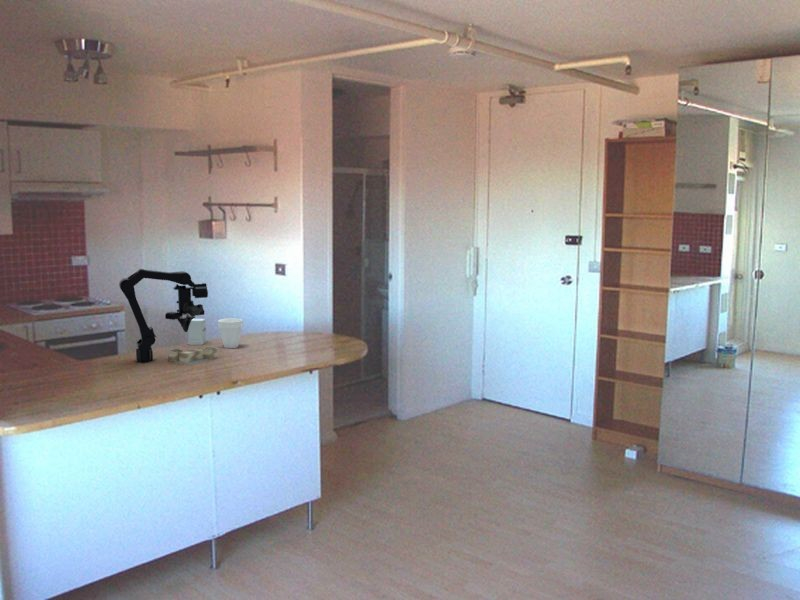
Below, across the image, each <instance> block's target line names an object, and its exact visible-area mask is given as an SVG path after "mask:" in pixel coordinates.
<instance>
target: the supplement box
mask: <svg viewBox="0 0 800 600" xmlns="http://www.w3.org/2000/svg"><path fill="white" fill-rule="evenodd" d="M187 333H188V345H189V346H203V345H204V344H206V343H207V320H206V318H193V319H192V320H191V322H190V325H189V328H188V331H187Z"/></svg>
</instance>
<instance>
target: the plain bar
mask: <svg viewBox="0 0 800 600" xmlns="http://www.w3.org/2000/svg"><path fill="white" fill-rule="evenodd" d="M203 349H204V348H201V347H200V348H199V347H198V348H194V349H190V350H185V351H184V350H183V352H180V353H179V361H181V362H190V361H194V360H199V359H203Z"/></svg>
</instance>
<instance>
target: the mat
mask: <svg viewBox="0 0 800 600" xmlns="http://www.w3.org/2000/svg"><path fill="white" fill-rule="evenodd" d="M216 359H217V358H215V359H214V360H216ZM211 360H213V359H211ZM211 360H210V359H204V358H203V359H199V360H194V361H190V362H181V361H177V362H176V363H177V364H178V363H179V364H184V365H189V366H190V365H191V366H192V365H194V364H198V363H203V362H207V361H211ZM172 362H173V363H175V362H174V361H172Z"/></svg>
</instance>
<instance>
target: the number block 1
mask: <svg viewBox="0 0 800 600" xmlns="http://www.w3.org/2000/svg"><path fill="white" fill-rule="evenodd" d="M180 352H184V350H183V349H177V348H175V349H171V350H168V361H170V362H173V361H174V362H173V363H178V362H177V361H179V353H180Z"/></svg>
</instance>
